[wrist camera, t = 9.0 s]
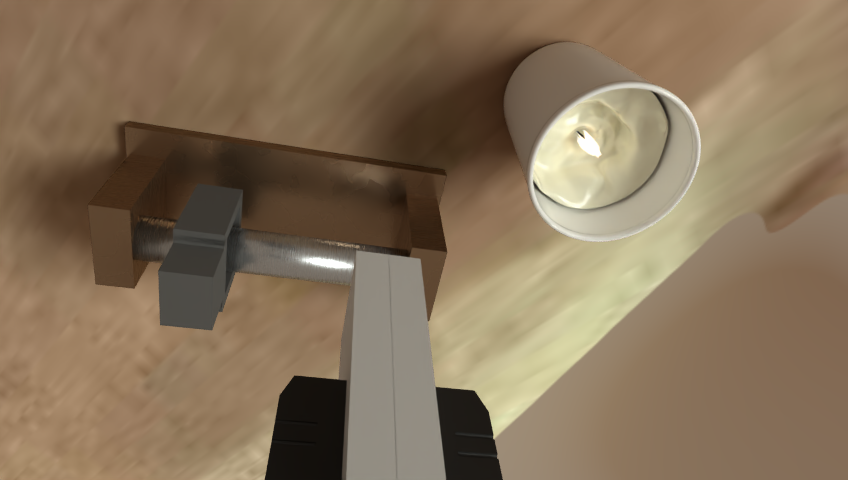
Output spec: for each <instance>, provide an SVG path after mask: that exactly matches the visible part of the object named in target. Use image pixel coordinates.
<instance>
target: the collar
mask: <svg viewBox="0 0 848 480" xmlns="http://www.w3.org/2000/svg"><path fill="white" fill-rule="evenodd" d="M242 198H243V190H241V189H233V188H226V187H219V186H212V185H205V184H197V186H196V188H195V190H194V191H193V193H192V195H191V197H190V199H189V201H188V202H187V204H186V206H185V208H184V210H183V211H182V213H181V215H180V217H179V219H178V221H177V222H176V224H175V226H174V228H173V244H172V246H171V248H170V250H169V252H168V254H167V256H166V257H165V259H164V261H163V263H162V265H161V267H160V269H159V271H158V275H159V304H160V325H165V326H175V327H185V328H194V329H204V330H212V329H213V326H214V323H215V320H216V317H217V314H218V312H222V311H223V308H224V305H225V302H226V299H227V296H228V293H229V290H230V287H231V284H232V281H233V278H234V275H235V272H230V271H226V254H227V238H228V236H229V233H230V230H231V228H232V227H237V228H241V218H242Z"/></svg>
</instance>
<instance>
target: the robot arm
mask: <svg viewBox="0 0 848 480" xmlns="http://www.w3.org/2000/svg"><path fill="white" fill-rule="evenodd" d="M265 480H503V479H502V474H501V469H500V465H499V460H498V459H497V450H496V445H495V440H493V431H492V426H491V421H490V416H489V412H488V410H487V409H486V407H485V406H484V404H483V403H482V401H481V400H480V398H479V397H478V395H477V394H476V392H475V391H473V390H462V389H451V388H440V387H435V380H434V371H433V363H432V354H431V345H430V337H429V328H428V320H427V311H426V302H425V294H424V285H423V277H422V268H421V259H419V258H411V257H403V256H395V255H387V254H380V253H372V252H364V251H356V256H355V262H354V268H353V274H352V280H351V286H350V292H349V297H348V303H347V309H346V315H345V321H344V327H343V333H342V339H341V352H340V366H339V380H337V379H326V378H316V377H305V376H294V377H293V378H292V380H291V381H290V382H289V384H288V385H287V386H286V388H285V389H284V390H283V392H282V393H281V394H280V397H279V402H278V408H277V414H276V419H275V425H274V431H273V436H272V443H271V448H270V453H269V459H268V465H267V470H266V476H265Z"/></svg>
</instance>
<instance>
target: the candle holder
mask: <svg viewBox="0 0 848 480" xmlns="http://www.w3.org/2000/svg"><path fill="white" fill-rule="evenodd" d="M504 116H505V120H506V124H507V127H508V130H509V133H510V136H511V139H512V142H513V145H514V148H515V151H516V154H517V157H518V160H519V162H520V165H521V168H522V171H523V174H524V177H525V180H526V183H527V186H528V191H529V195H530V198H531V201H532V203H533V205H534V207H535V209H536V211H537V212H538V214H539V215H540V217H541V218H542V219H543V220H544V221H545V222H546V223H547V224H548V225H549V226H550V227H552V228H553V229H554V230H556V231H558V232H559V233H561V234H563V235H565V236H568V237H570V238H574V239H577V240H582V241H589V242H605V241H613V240H618V239H622V238H626V237H629V236H632V235H634V234H637V233H639V232H641V231H643V230H645V229H647V228H649V227H650V226H652V225H654V224H655V223H657V222H658V221H659V220H661V219H662V218H663V217H665V216H666V215H667V214H668V213H669V212H670V211H671V210H672V209H673V208H674V207H675V206H676V205H677V204H678V203H679V201H680V200H681V199H682V198H683V196H684V195H685V193H686V192H687V190H688V189H689V187H690V185H691V183H692V181H693V179H694V177H695V174H696V171H697V168H698V164H699V160H700V152H701V141H700V134H699V129H698V126H697V123H696V121H695V118H694V116H693V115H692V113H691V111H690V110H689V108H688V107H687V106H686V105H685V104H684V103H683V102H682V101H681V100H680V99H679V98H678V97H677V96H676V95H674V94H673V93H671V92H670V91H668V90H666V89H664V88H662V87H659V86H657V85H655V84H653V83H652V82H650V81H648V80H647V79H645V78H643V77H642V76H640V75H638V74H637V73H635V72H633V71H632V70H630V69H628V68H627V67H625V66H624V65H622V64H620V63H619V62H617V61H615V60H614V59H612V58H610V57H609V56H607V55H605V54H603V53H602V52H600V51H598V50H596V49H594V48H592V47H590V46H588V45H585V44H581V43H576V42H559V43H554V44H550V45H547V46H545V47H542V48H540V49H538V50H537V51H535V52H533V53H532V54H530V55H529V56H528V57H527V58H526V59H524V60H523V61H522V62H521V63H520V65H519V66H518V67H517V68H516V70H515V71H514V72H513V74H512V76H511V78H510V80H509V82H508V84H507V87H506V90H505V95H504Z"/></svg>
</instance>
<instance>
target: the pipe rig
mask: <svg viewBox="0 0 848 480" xmlns="http://www.w3.org/2000/svg"><path fill="white" fill-rule="evenodd" d="M125 142H126V160H125V161H124V162H123V163H122V164H121V166H120V167H119V168H118V169H117V170H116V172H115V173H114V174H113V175H112V176H111V178H110V179H109V180H108V181H107V182H106V183H105V185H104V186H103V187H102V188H101V189H100V191H99V192H98V193H97V194H96V195H95V197H94V198H93V199H92V200H91V201H90V203H89V204H88V214H89V224H90V234H91V244H92V253H93V263H94V273H95V283H96V284H98V285H107V286H116V287H125V288H135V286H136V285H137V283H138V281H139V279H140V278H141V276H142V274H143V272H144V270H145V269H146V267H147V265H148V263H149V262H155V263H163V261H164V259H165V257H166V256H167V254H168V252H169V250H170V248H171V246H172V244H173V228H174V226H175V224H176V222H177V221H178V219H179V217H180V215H181V213H182V211H183V210H184V208H185V206H186V204H187V202H188V201H189V199H190V197H191V195H192V193H193V191H194V190H195V188H196V186H197V184H205V185H212V186H219V187H226V188H233V189H241V190H243V198H242V218H241V228H237V227H232V228H231V230H230V233H229V236H228V238H227V254H226V271H230V272H239V273H247V274H256V275H264V276H273V277H281V278H289V279H298V280H306V281H315V282H323V283H332V284H340V285H348V286H351V280H352V274H353V268H354V262H355V256H356V251H364V252H372V253H380V254H387V255H395V256H403V257H411V258H419V259H421V268H422V277H423V285H424V294H425V302H426V311H427V320H428V321H429V320H430V316H431V312H432V308H433V304H434V301H435V297H436V293H437V289H438V286H439V282H440V278H441V274H442V270H443V267H444V263H445V259H446V255H447V248H446V243H445V238H444V232H443V227H442V222H441V216H440V211H439V204H440V200H441V196H442V192H443V188H444V184H445V180H446V172H445V170H441V169H434V168H428V167H421V166H415V165H408V164H402V163H396V162H389V161H383V160H376V159H370V158H363V157H357V156H350V155H344V154H337V153H331V152H324V151H318V150H312V149H305V148H299V147H292V146H286V145H279V144H273V143H266V142H260V141H253V140H247V139H240V138H234V137H228V136H221V135H215V134H208V133H202V132H195V131H189V130H182V129H176V128H169V127H163V126H156V125H150V124H144V123H137V122H131V121H129V122H128V123H127V125H126V126H125Z"/></svg>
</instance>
